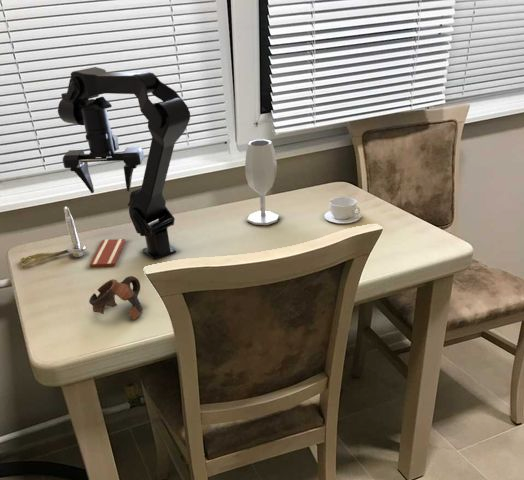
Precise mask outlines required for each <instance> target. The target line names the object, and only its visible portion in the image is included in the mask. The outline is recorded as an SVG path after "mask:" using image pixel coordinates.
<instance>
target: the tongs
mask: <svg viewBox="0 0 524 480" xmlns="http://www.w3.org/2000/svg"><path fill="white" fill-rule="evenodd" d="M66 254H69V252H68V251H67V249H65V250H61V251H56V252H39V253H35V254H31V255H28V256H26V257H22V258H20V259H19V260H20V261H19V264H20V266H21V267H22V268H26V267H28V266H31V265H35V264H37V263H43V262H44V261H46V260H49V259H52V258H56V257H59V256H62V255H66ZM25 262H27V263H25Z"/></svg>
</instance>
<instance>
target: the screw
mask: <svg viewBox="0 0 524 480" xmlns="http://www.w3.org/2000/svg"><path fill="white" fill-rule="evenodd" d="M63 212H64V219H65V224H66V228H67V230H68V231H67V232H68V235H69V237H70V241H71V244H69V245H68V246H67V247H66V250H67V251H68V252H69V253H70V254H72V256H73V258H81V257H83V256H85V254H84V251H85V250H87V248H88V247H87V244H85V243H82V242H80V240H79V236H78V233H77V229H76V226H75V222H74V218H73V215H72V214H71V211H70V208H69V207H68V206H66V205H65V206H64V207H63ZM69 253H68V254H69Z"/></svg>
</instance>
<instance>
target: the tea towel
mask: <svg viewBox="0 0 524 480" xmlns="http://www.w3.org/2000/svg"><path fill="white" fill-rule="evenodd" d="M125 244H126V239H125V238H117V239H102V240H101V242H100V244H99V246H98V248H97V250H96V252H95V253H94V255H93V257H92V258H91V261H90V263H89V268H102V267H103V268H105V267H106V268H107V267H115V266H116V264H117V262H118V260H119V258H120V255H121V253H122V251H123V248H124V246H125Z"/></svg>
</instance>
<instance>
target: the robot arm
mask: <svg viewBox="0 0 524 480" xmlns="http://www.w3.org/2000/svg"><path fill="white" fill-rule="evenodd" d="M67 86H68V87H67V92H63V93H61V100H60V101H59V103H58V106H57V114H58V116H59V118H60V119H61V121H62V122H64V123H67V124H73V125H78V126H84V130H85V140H86V141H87V143H88V148H89V153H85V151H84V149H70V150H68V151H66V153H65V154H64V155H63V156H62V163H63V167H64V169H69V170H70V172H74V173H75V174H76V176H78V178H79V179H80V180H81V182H83V184H85V186H86V188H87V189H88V190H89V192H90V193H91V194H94V193H95V190H94V189H95V188H94V185H93V181H92V178H91V173H90V170H89V164H88V163H98V162H99V163H100V162H120V161H122V162H123V163H124V166H123V172H124V181H125V186H126V191H127V192H129V193H130V194H129V202H128V203H127V206H128V214H129V218H130V220H131V222H132V225H133V227H134V229H135V232H136V234H139V236H140V237H144V239H145V245H146V247H145V248H142V250H141V251H142V252H143V253H145V255H147V256H148V257H150V258H152V259H154V260H155V259H159V258H162V257H165V256H167V255H170V254H173V253H177V249H176V248H175V247H173V246H171V245H170V244H171V243H170V239H169V238H170V237H169V231H168V228H169V227H172V226H174V225H175V217H174V215H173V214H172V212H171V211H170V210H169V208H167V206H166V203H167V201H166V199H165V197H164V194H163V191H164V187H165V184H166V179H167V175H168V171H169V167H170V164H171V160H172V155H173V152H174V148H175V144H176V142H177V141H179V139H180V138H181V136H182V135H183V134H184V133H185V132H186V129H187V127H188V125H189V123H190V120H191V111H190V110H189V107H188V105H187V104H186V102H185V101H184V100H183V99H182V98H181V96H180V95H179V94H178V92H176V90H175V89H173V88H171V87H170V86H168V85H167V84H165V83H164V82H162V81H161V80H160V79H159V78H158V77H157V75H156V74H155V73H154V72H151V71H144V72H108V71H107V70H106V69H105V68H102V67H97V66H93V67H89V68H88V67H87V68H83V69H78V70H74V71H71V72H70V79H69V82H68V85H67ZM105 94H110V95H111V94H113V95H115V94H116V95H134V96H135V97H136V99H137V101H138V105H139V109H140V112H141V114H142V115H143V117H145V119H146V120H147V129H148V131H149V134H150V135H151V142H150V147H149V151H148V155H147V160H146V164H145V170H144V173H143V174H144V175H143V179H142V183H141V187H140V188H138V189H135V190H133V191H131V185H132V178H133V173H134V169H137V168H138V166H140V165H142V163H143V161H144V159H145V155H144V154H145V153H144V150H143V149H142V148H141V147H140V146H136V147H135V146H134V147H133V146H132V147H126V148H125V149H124V151H123V152H121V151H119V152H117V151H118V150H120V146H119V137H118V135H115V134H114V133H113V130H112V128H111V126H110V121H109V115H108V110H107V109H110V108H112V103H111V102H110V101H108V100H107V99H106V98H105V96H100V95H105ZM149 94H152V95H153V96H154V97H156V98H157V99H159V100H160V102H155V103H153V102H152V101H151V99H150V98H149Z"/></svg>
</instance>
